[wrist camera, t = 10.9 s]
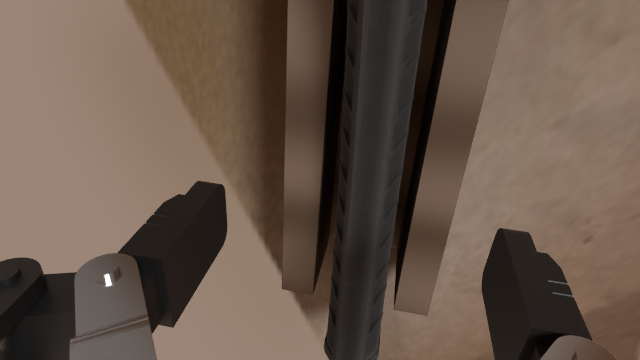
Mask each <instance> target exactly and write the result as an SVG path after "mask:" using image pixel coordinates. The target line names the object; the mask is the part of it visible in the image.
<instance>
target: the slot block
mask: <svg viewBox="0 0 640 360" xmlns="http://www.w3.org/2000/svg"><path fill="white" fill-rule="evenodd" d="M508 3H509V0H427V11H426V14H425V19H424V25H423V32H422V39H421V45H420V50H421V51H420V57H419V59H418V66H417V72H416V79H415V86H414V98H413V101H412V106H411V113H410V120H409V127H408V129H409V132H408V136H407V141H406V148H405V155H404V161H403V172H402V175H401V182H400V189H399V196H398V198H399V201H398V204H397V211H396V218H395V225H394V226H395V229H394V232H393V239H392V246H391V248H397V261H396V279H395V296H394V310H398V311H404V312H409V313H414V314H420V315H425V316H427V315H428V311H429V307H430V303H431V299H432V295H433V291H434V288H435V284H436V280H437V276H438V272H439V268H440V265H441V261H442V257H443V253H444V249H445V245H446V241H447V238H448V234H449V230H450V226H451V222H452V218H453V214H454V211H455V207H456V203H457V199H458V195H459V191H460V187H461V184H462V180H463V176H464V172H465V168H466V164H467V161H468V157H469V153H470V149H471V145H472V141H473V137H474V134H475V130H476V126H477V122H478V118H479V114H480V110H481V107H482V103H483V99H484V95H485V91H486V87H487V83H488V80H489V76H490V72H491V68H492V64H493V60H494V57H495V53H496V49H497V45H498V41H499V37H500V33H501V30H502V26H503V22H504V18H505V14H506V10H507V6H508ZM347 15H348V10H347V0H288V20H287V68H286V116H285V164H284V212H283V260H282V289H285V290H290V291H295V292H301V293H306V294H311V295H313V293H314V290H315V286H316V283H317V279H318V276H319V272H320V269H321V265H322V262H323V258H324V255H325V251H326V248H327V244H328V241H329V237H331V238H335V231H336V223H335V222H336V216H337V201H338V196H337V191H338V185H339V170H340V166H339V160H340V154H341V136H342V129H341V125H342V119H343V99H344V95H343V87H344V80H345V60H346V53H345V44H346V39H347Z"/></svg>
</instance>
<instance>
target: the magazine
mask: <svg viewBox="0 0 640 360" xmlns="http://www.w3.org/2000/svg"><path fill="white" fill-rule="evenodd" d="M347 10H348V15H347V39H346V44H345V53H346V60H345V80H344V87H343V95H344V99H343V119H342V125H341V129H342V136H341V154H340V160H339V166H340V170H339V185H338V191H337V196H338V201H337V216H336V222H335V223H336V231H335V245H334V251H333V254H334V259H333V272H332V278H331V280H332V284H331V296H330V303H329V318H328V329H327V334H326V338H325V344H324V349H325V353H326V355H327V356H328V358H329V360H377V358H378V354H379V344H380V329H381V319H382V315H383V312H382V311H383V304H384V297H385V289H386V286H387V283H386V282H387V275H388V267H389V262H390V253H391V246H392V239H393V232H394V229H395V226H394V225H395V218H396V211H397V204H398V201H399V198H398V196H399V189H400V182H401V175H402V172H403V161H404V155H405V148H406V141H407V136H408V132H409V129H408V127H409V120H410V113H411V106H412V101H413V98H414V86H415V79H416V72H417V66H418V59H419V57H420V51H421V50H420V45H421V39H422V32H423V25H424V19H425V14H426V11H427V0H347Z"/></svg>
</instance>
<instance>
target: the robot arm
mask: <svg viewBox="0 0 640 360" xmlns="http://www.w3.org/2000/svg"><path fill="white" fill-rule="evenodd" d="M226 234H227V214H226V199H225V188H224V186H223V185H222V184H215V183H209V182H202V181H197V182H196V183H195V184H194V185H193V186H192V188H191V189H190V190H189V191H188V192H187V193H186V195H180V194H178V195H177V196H175V197H173V198H171V199H169V200H167V201H166V202H164V203H163V204H162V205H161V206H160V207H159V208H158V209H157V211H156V212H155V213H154V215H152V216H151V217H150V218H149V219H148V220H147V222H146V224H144V225H143V226H142V227H141V228H140V229H139V230H138V231H137V232H136V233H135V234H134V235H133V237H132V238H131V239H130V240H129V241H128V242H127V243H126V244H125V245H124V246H123V247H122V248H121V250H120V251H119V252H118V253H113V254H106V255H102V256H99V257H96V258H94V259H92V260H90V261H88V262H87V263H85V264H84V265H83V266H81V268H80V269H79V270H78V271H77V272H75V273H62V274H61V273H60V274H43V271H42V268H41V265H40V264H39V263H38V262H37V261H36V260H34V259H30V258H13V259H8V260H5V261H1V262H0V360H157V358H156V353H155V348H154V343H153V338H152V333H153V332H154V330H155V329H156V327H157V326H158V325H163V326H168V327H174V325H175V324H176V322H177V321H178V319H179V317H180V316H181V314H182V312H183V311H184V309H185V307H186V305H187V304H188V302H189V301H190V299H191V297H192V296H193V294H194V292H195V291H196V289H197V287H198V286H199V284H200V283H201V281H202V279H203V278H204V276H205V274H206V273H207V271H208V269H209V268H210V266H211V264H212V263H213V261H214V260H215V258H216V256H217V255H218V253H219V251H220V250H221V248H222V246H223V244H224V242H225V238H226ZM482 293H483V299H484V304H485V309H486V315H487V320H488V325H489V331H490V336H491V341H492V346H493V352H494V357H495V360H617V359H616V357H615V356H614V355H612V354H611V353H610V352H609V351H608V350H607V349H605V348H604V347H602V346H601V345H599V344H597V343H596V342H594V341H592V338H591V336H590V334H589V331H588V329H587V327H586V324H585V322H584V320H583V318H582V315H581V313H580V311H579V308H578V306H577V304H576V301H575V299H574V298H572V292H571V290H570V288H569V285H567V281H566V279H565V276H564V274H563V272H562V269H561V267H560V266H559V265H558V264H557V263H556V262H555V261H554V260H553V259H552V258H551V257H550V256H549V255H548V254H546V253H540V252H537V251H536V248H535V245H534V243H533V240H532V238H531V235H530V234H529V233H528V232H523V231H516V230H510V229H503V228H500V229H498V231H497V233H496V235H495V238H494V241H493V244H492V247H491V250H490V253H489V256H488V259H487V262H486V265H485V268H484V272H483V277H482Z"/></svg>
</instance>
